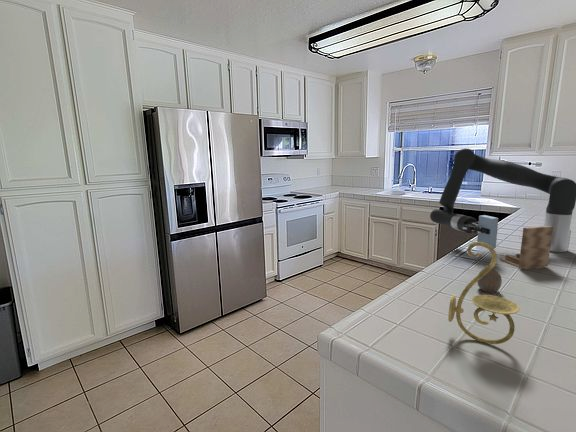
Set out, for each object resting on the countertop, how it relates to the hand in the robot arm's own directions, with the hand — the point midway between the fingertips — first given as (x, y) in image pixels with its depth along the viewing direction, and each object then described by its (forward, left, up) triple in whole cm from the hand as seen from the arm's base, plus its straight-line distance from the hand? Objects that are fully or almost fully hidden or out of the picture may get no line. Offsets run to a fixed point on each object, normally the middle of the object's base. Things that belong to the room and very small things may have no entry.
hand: (492, 231), depth 134 cm
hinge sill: (-9, +6, -13) cm, 16 cm away
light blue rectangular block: (0, -3, -7) cm, 8 cm away
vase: (+24, +26, -13) cm, 38 cm away
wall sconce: (+49, +51, -13) cm, 72 cm away
